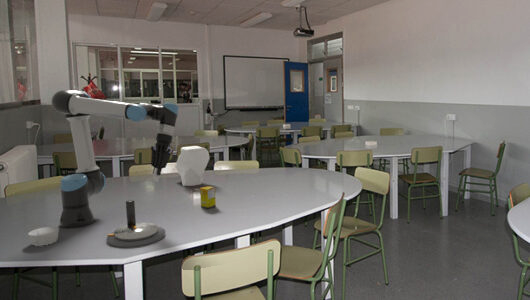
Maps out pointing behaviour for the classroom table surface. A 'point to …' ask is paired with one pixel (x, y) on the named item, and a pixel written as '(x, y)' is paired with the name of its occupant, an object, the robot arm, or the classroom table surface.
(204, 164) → the white faceted lump
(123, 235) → the dial
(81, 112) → the robot arm
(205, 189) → the supplement box
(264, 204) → the classroom table surface
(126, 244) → the base plate
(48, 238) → the ramekin
